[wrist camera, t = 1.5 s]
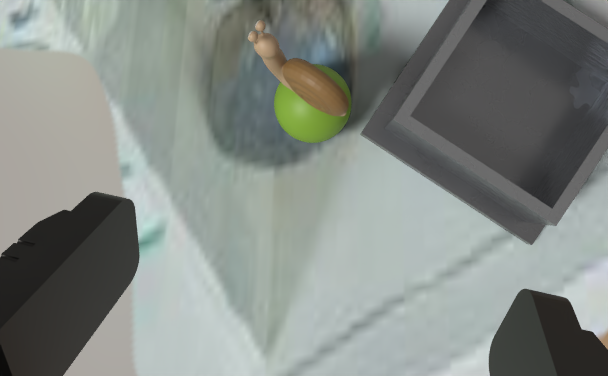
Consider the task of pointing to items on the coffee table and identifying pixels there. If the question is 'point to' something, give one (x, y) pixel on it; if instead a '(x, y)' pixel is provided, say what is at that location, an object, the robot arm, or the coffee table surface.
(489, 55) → the duct collar
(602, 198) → the coffee table surface
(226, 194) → the coffee table surface
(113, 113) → the coffee table surface
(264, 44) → the snail figurine
